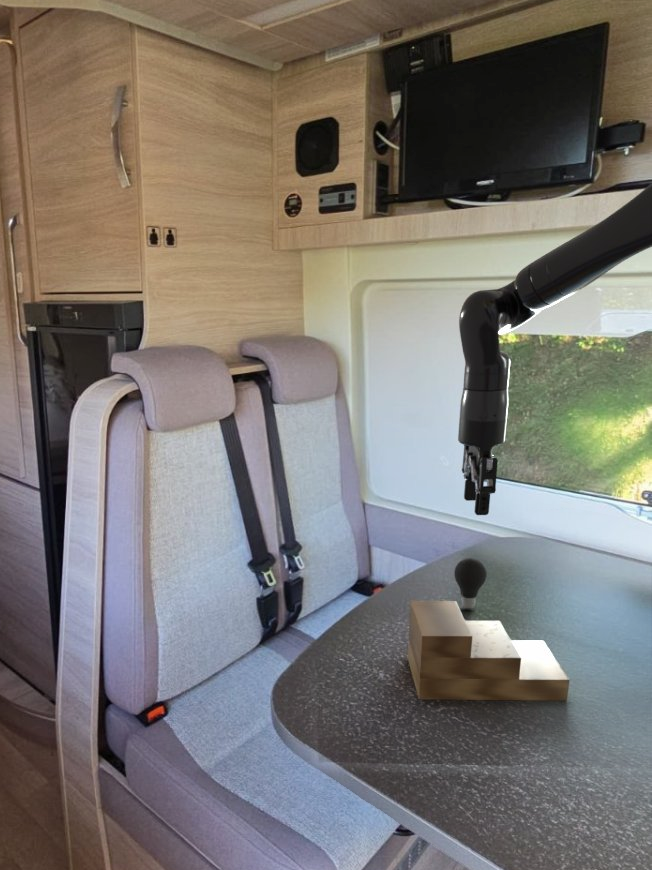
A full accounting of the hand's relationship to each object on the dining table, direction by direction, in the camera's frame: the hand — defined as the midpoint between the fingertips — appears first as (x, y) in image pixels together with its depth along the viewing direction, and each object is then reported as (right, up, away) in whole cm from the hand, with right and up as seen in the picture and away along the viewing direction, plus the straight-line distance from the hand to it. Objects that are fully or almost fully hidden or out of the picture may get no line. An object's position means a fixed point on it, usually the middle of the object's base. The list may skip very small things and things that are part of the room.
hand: (475, 507), depth 127 cm
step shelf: (-4, -27, -16) cm, 32 cm away
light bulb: (+1, -19, +7) cm, 20 cm away
